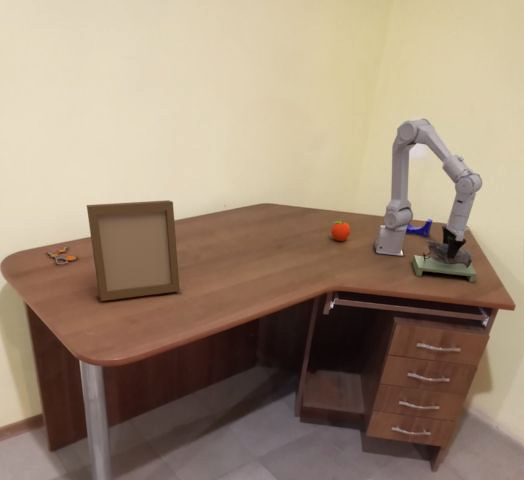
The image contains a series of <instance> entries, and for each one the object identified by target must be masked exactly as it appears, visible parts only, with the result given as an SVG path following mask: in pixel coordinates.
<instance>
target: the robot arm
mask: <svg viewBox="0 0 524 480" xmlns="http://www.w3.org/2000/svg"><path fill="white" fill-rule="evenodd" d="M417 144H420V145H424V146H425V145H426V147H428V148H429V149H430V151H431V152H432V153H433V154H434V155H435V156H436V157H437V158H438V159H439V160H440V161H441V162H442V166H441V167H442V168H441V169H442V170H443V171H444V172H445V174H446V175H447V176H448V177H449V178H450V180H451V181H452V182H453V184H454V189H455V197H454V200H453V203H452V207H451V209H450V214H449V217H448V219H447V222H446V225H442V226H441V230H442V244H448V251H447V258H451V259H454V257H455V256H456V254H457V252H458V251H459V249H462V247H463V246H464V245H465V244H466V243H467V240H466V239H465V232H469V230H470V229H469V227H468V226H467V224H468V221H469V218H470V214H471V212H472V208H473V205H474V202H475V198H476V196H477V192H479V191H480V190H481V189H482V188H483V187H482V186H483V179H482V177H481V175H480V174H479V173H476V172H474V171H473V169H471V168H470V167H469V166H468V165H467V164H466V163H465V159H464V157H463V156H460V155H458V154H453V153H452V152H451V151H450V149H449V148H448V147H447V145H446V144H445V142H444V141H443V140H442V138H441V137H440V135H439V134H438V133H437V131H436V128H435V126H434V125H433V124H431V122H430V120H428V119H427V118H420V119H413V120H405V121H403V122H402V123H401V124H400V125H399V126H398V127H397V129H396V135H395V137H394V141H393V143H392V147H391V151H392V152H391V188H390V190H391V192H390V201H389V203H388V204H387V205H386V207H385V213H384V216H383V224H384V225H379V227H378V230H377V235H376V238H375V243H374V247H375V252H376V254H380V255H391V256H397V257H398V256H399V257H403V256H404V253H403V245H404V240H405V236H406V234H407V233H406V229H407V226H408V224H411V222H412V221H413V220H414V212H413V210H412V203H411V202H410V200H409V173H410V172H409V171H410V170H409V169H410V151H411V150H412V149H413V148H414V147H415V146H416V145H417Z"/></svg>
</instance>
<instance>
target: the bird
mask: <svg viewBox="0 0 524 480" xmlns="http://www.w3.org/2000/svg"><path fill="white" fill-rule="evenodd" d="M425 244H426V245H428V251H429V252H427V254H425V253H423V254H422V255H423V256H424V261H425V262H426V260H425V259H428V258H430V257H432V259H433V260H436V261H438V262H441V263H444V264H449V265H454V264H459V263H460V264H464V265H466V267H467V268H468V267H469V266H470V264H471V265H472V263H473V260H474V259H473V258H474V257H473V256H474V255H473V253H472V252H471V251H470V250H468V249H463V248H460V249H459V251H458V252H457V254H456V256H455V257H454V259H451V258H447V251H448V244H443V243H440V242H439V241H438V242H437V241H433V240H429V239H426V240H425ZM428 255H429V256H428ZM426 256H427V257H428V258H425V257H426Z"/></svg>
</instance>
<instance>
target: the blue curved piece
mask: <svg viewBox="0 0 524 480" xmlns="http://www.w3.org/2000/svg"><path fill="white" fill-rule="evenodd" d="M432 224H433V219H430V218H428V219H427V220H426V221H425V224H424V225H423V226H420V227H416V226H413V225H412V224H411V223H409V224H408V226H407V229H406V233H405V234H410V235H411V234H414V235H419V236H421V237H425V238H427V237H428V236H429V235H430V232H431V229H432Z"/></svg>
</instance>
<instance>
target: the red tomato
mask: <svg viewBox="0 0 524 480" xmlns="http://www.w3.org/2000/svg"><path fill="white" fill-rule="evenodd" d="M333 224H334V225H333V226H332V227H331V225H329V226H328V227H331V236H332V237H333V239H334V240H335V241H340V242H344V241H346V240H347V239H348V238H349V237H350V235H351V227H350V225H349V224H348V223H347V222H346V221H340V220H339V221H334V222H333Z"/></svg>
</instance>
